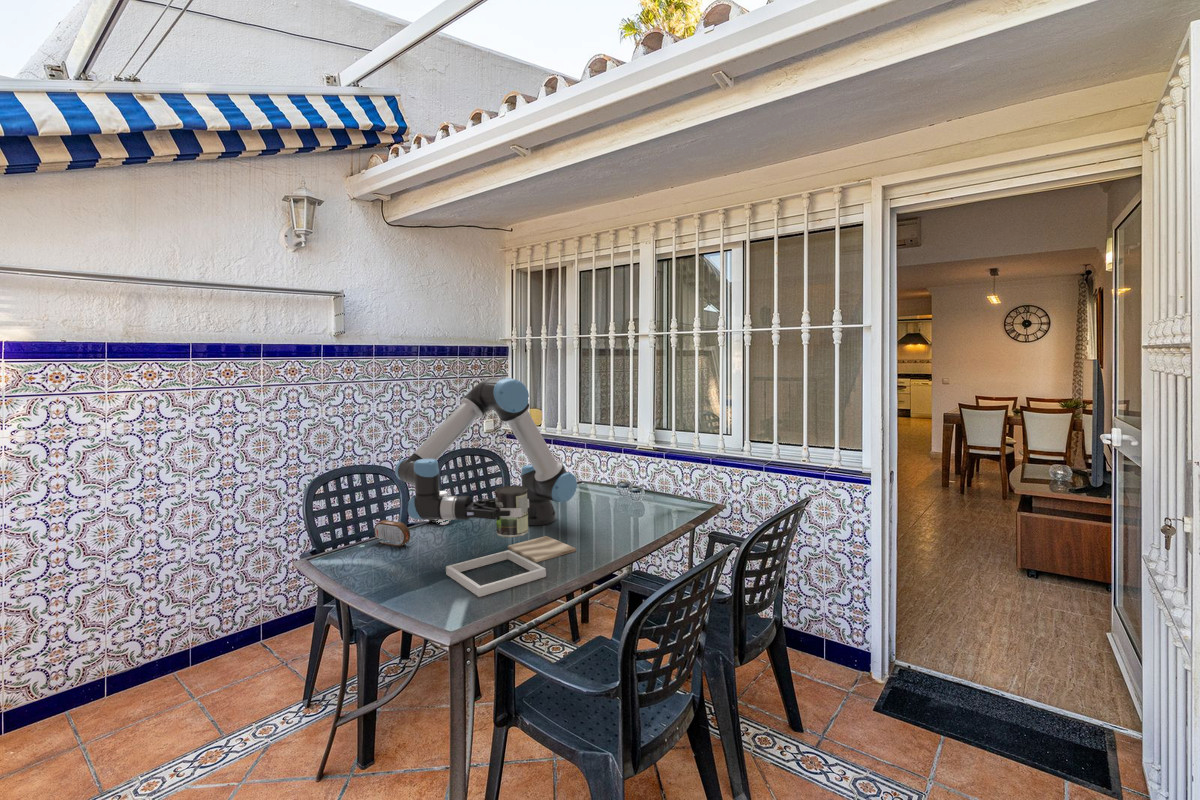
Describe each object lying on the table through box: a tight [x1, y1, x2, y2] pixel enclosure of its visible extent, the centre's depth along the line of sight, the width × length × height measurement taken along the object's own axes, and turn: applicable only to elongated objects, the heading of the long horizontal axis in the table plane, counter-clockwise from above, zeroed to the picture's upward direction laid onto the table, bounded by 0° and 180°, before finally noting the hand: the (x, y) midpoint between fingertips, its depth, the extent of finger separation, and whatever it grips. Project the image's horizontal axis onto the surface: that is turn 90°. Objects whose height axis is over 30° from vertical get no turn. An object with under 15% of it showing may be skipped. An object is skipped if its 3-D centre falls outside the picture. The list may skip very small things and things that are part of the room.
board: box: [507, 535, 577, 563], centre depth 193 cm, size 18×16×1 cm
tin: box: [373, 519, 411, 547], centre depth 202 cm, size 15×3×8 cm, turn 65°
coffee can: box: [494, 485, 529, 538], centre depth 180 cm, size 10×10×14 cm
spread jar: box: [428, 490, 450, 526], centre depth 229 cm, size 12×11×12 cm
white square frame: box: [445, 549, 547, 598], centre depth 171 cm, size 22×22×2 cm
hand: (525, 507), depth 180 cm, fingers closed on coffee can, 10 cm apart
